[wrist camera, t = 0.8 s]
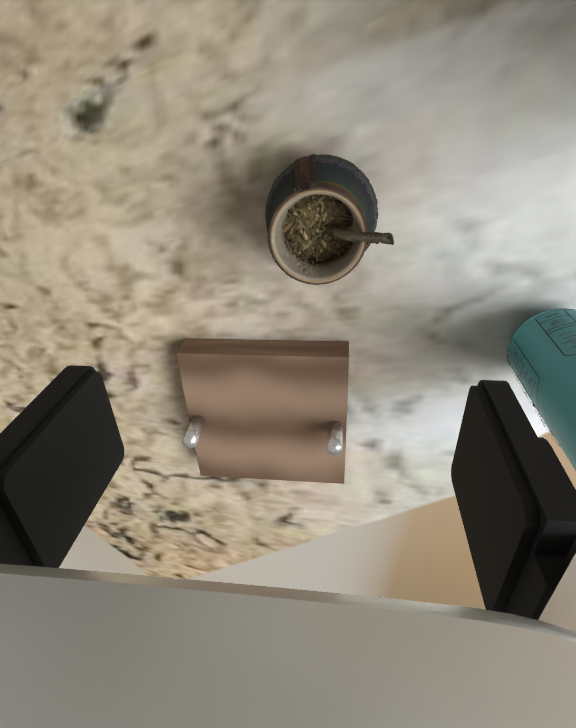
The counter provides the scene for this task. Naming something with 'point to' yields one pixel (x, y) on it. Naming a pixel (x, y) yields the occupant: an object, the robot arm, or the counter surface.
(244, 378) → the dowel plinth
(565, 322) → the beverage bottle
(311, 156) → the mate gourd
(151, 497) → the counter surface
